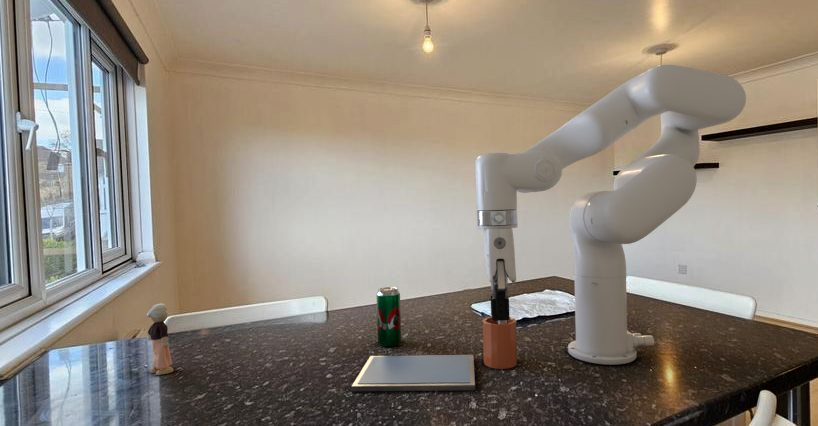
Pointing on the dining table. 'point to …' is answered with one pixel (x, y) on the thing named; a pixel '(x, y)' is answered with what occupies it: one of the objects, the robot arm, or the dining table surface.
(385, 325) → the soda can
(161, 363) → the grandmother figurine
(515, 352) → the pen cup
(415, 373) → the tablet
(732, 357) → the dining table surface
